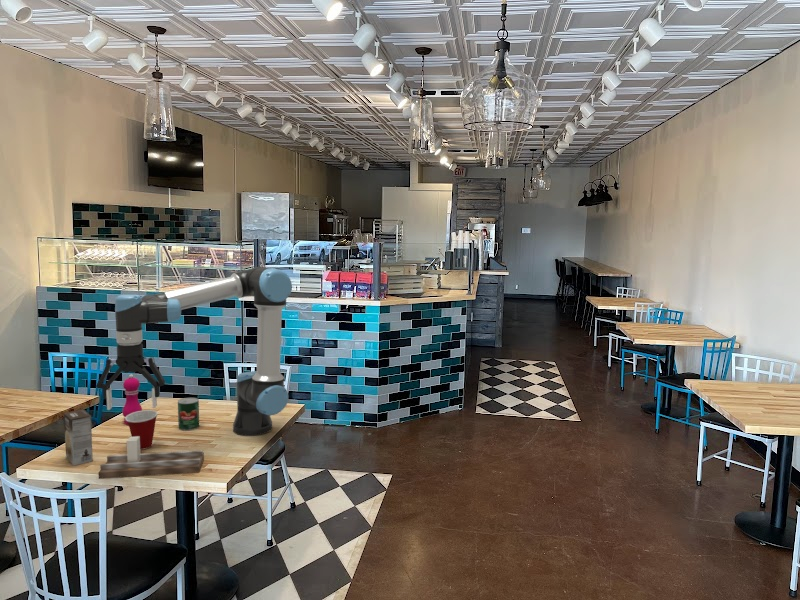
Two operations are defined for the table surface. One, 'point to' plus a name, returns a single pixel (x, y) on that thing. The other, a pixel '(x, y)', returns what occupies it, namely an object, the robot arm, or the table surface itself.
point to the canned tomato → (188, 413)
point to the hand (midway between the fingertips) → (132, 407)
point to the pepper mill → (131, 396)
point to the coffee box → (78, 437)
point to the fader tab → (133, 449)
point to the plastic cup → (142, 426)
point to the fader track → (152, 464)
